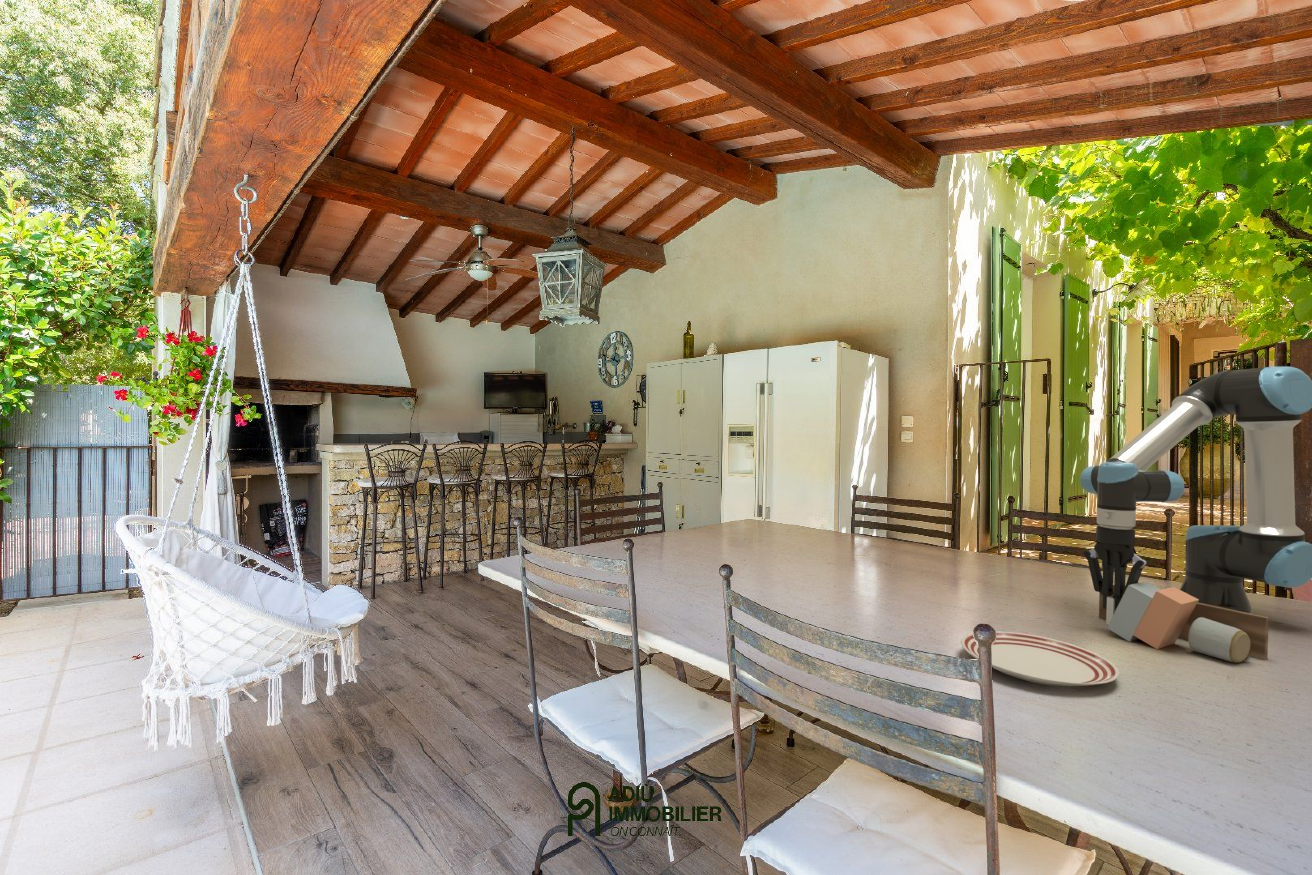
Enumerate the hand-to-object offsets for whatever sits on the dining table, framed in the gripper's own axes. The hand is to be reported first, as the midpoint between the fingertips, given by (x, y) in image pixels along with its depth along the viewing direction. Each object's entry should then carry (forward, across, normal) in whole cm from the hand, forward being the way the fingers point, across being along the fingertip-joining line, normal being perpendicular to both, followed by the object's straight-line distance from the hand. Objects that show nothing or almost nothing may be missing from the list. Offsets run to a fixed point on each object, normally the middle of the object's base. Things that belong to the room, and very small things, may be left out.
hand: (1112, 623), depth 148 cm
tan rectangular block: (+1, +8, 0) cm, 8 cm away
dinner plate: (+3, +5, -39) cm, 39 cm away
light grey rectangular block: (+1, +3, 0) cm, 3 cm away
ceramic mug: (+2, +19, +4) cm, 20 cm away
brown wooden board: (+2, +8, +10) cm, 13 cm away
